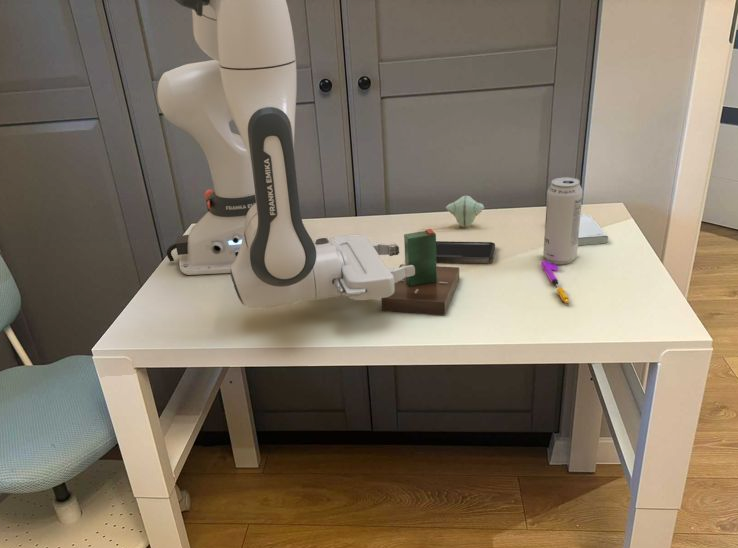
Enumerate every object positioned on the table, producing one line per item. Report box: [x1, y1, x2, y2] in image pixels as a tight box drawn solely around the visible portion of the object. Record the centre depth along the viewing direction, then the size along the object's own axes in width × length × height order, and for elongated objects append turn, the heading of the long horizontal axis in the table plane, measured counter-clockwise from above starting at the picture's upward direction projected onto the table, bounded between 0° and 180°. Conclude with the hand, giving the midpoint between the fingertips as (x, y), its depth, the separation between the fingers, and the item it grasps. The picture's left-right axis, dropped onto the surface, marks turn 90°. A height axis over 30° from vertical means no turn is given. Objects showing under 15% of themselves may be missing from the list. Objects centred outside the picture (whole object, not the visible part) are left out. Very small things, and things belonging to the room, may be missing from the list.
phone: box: [436, 240, 496, 264], centre depth 140 cm, size 8×1×15 cm
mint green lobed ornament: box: [445, 195, 485, 228], centre depth 151 cm, size 8×4×7 cm, turn 74°
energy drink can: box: [542, 176, 584, 265], centre depth 130 cm, size 6×6×15 cm
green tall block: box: [403, 228, 437, 286], centre depth 124 cm, size 5×2×9 cm, turn 101°
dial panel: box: [380, 264, 460, 316], centre depth 126 cm, size 14×11×3 cm
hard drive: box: [578, 213, 609, 246], centre depth 144 cm, size 2×8×12 cm
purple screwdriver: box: [540, 260, 570, 304], centre depth 125 cm, size 3×1×16 cm
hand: (405, 258), depth 123 cm, fingers open, 8 cm apart
